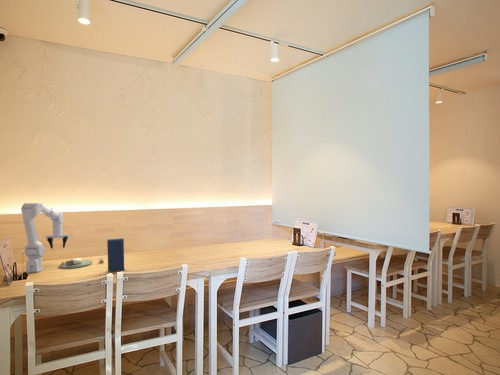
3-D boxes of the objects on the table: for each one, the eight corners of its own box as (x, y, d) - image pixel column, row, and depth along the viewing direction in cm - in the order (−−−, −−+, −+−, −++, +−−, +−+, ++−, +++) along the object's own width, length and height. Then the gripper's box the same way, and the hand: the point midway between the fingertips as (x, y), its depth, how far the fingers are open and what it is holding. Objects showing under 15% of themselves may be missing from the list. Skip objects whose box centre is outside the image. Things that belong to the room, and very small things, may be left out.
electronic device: (124, 268, 209) (123, 238, 208) (124, 270, 204) (123, 239, 203) (108, 269, 205) (107, 239, 205) (107, 272, 201) (107, 240, 200)
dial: (76, 261, 224) (76, 257, 224) (84, 262, 222) (84, 257, 222) (62, 265, 213) (62, 261, 213) (71, 266, 211) (71, 261, 211)
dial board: (87, 267, 212) (87, 264, 212) (54, 269, 208) (54, 266, 208) (95, 260, 231) (95, 257, 231) (65, 262, 227) (65, 259, 227)
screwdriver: (103, 263, 224) (103, 260, 224) (99, 263, 223) (99, 260, 223) (102, 259, 234) (102, 256, 234) (99, 259, 233) (99, 256, 233)
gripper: (70, 227, 235) (70, 246, 235) (47, 229, 231) (48, 247, 231) (67, 229, 228) (68, 248, 228) (44, 230, 224) (45, 249, 224)
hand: (57, 247), depth 229 cm, fingers open, 7 cm apart
